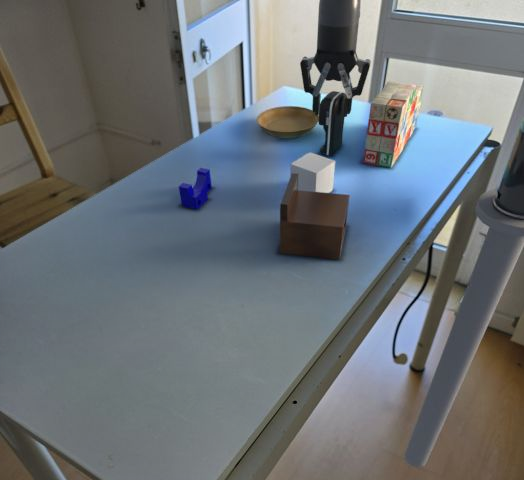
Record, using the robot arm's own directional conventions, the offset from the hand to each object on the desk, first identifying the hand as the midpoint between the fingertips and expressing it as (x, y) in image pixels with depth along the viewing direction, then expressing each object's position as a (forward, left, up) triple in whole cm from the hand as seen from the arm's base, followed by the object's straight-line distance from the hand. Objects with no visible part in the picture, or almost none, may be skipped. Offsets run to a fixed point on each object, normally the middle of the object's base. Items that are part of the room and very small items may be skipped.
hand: (331, 114), depth 100 cm
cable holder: (+22, +25, -8) cm, 34 cm away
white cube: (+1, +19, -8) cm, 21 cm away
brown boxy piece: (-2, +35, -7) cm, 36 cm away
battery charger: (0, 0, -8) cm, 8 cm away
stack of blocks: (-13, -4, -8) cm, 16 cm away
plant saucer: (+11, -9, -8) cm, 16 cm away
